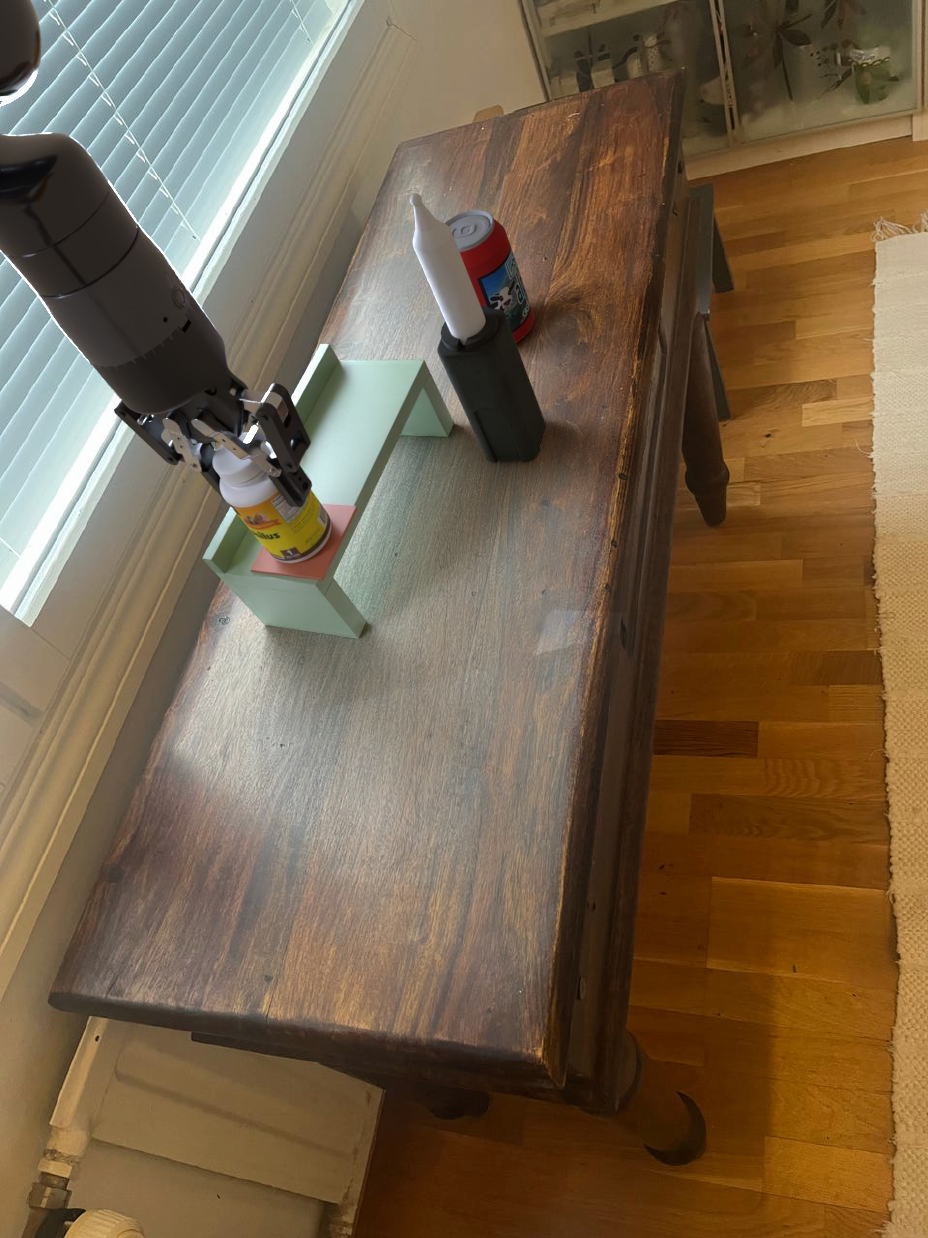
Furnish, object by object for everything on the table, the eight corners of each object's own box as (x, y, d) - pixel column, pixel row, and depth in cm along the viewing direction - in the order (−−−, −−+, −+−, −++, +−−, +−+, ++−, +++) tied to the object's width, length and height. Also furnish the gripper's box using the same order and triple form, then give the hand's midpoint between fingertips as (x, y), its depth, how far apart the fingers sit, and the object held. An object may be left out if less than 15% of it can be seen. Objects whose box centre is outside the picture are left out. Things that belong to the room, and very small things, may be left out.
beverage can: (532, 351, 89) (495, 245, 80) (466, 361, 92) (423, 260, 82) (539, 303, 93) (505, 197, 83) (476, 314, 95) (435, 212, 86)
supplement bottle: (258, 551, 75) (187, 467, 67) (304, 502, 76) (239, 413, 68) (301, 577, 71) (232, 492, 63) (348, 525, 73) (286, 435, 65)
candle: (548, 418, 84) (456, 165, 64) (536, 462, 81) (437, 213, 62) (496, 421, 86) (391, 176, 66) (483, 463, 83) (370, 223, 64)
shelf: (363, 639, 77) (309, 571, 69) (263, 624, 82) (201, 558, 74) (459, 422, 87) (421, 341, 79) (365, 420, 92) (320, 343, 84)
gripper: (19, 363, 58) (174, 528, 71) (195, 361, 51) (328, 543, 65) (81, 281, 61) (217, 453, 74) (253, 269, 55) (369, 460, 68)
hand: (269, 494), depth 69 cm, fingers closed on supplement bottle, 5 cm apart
